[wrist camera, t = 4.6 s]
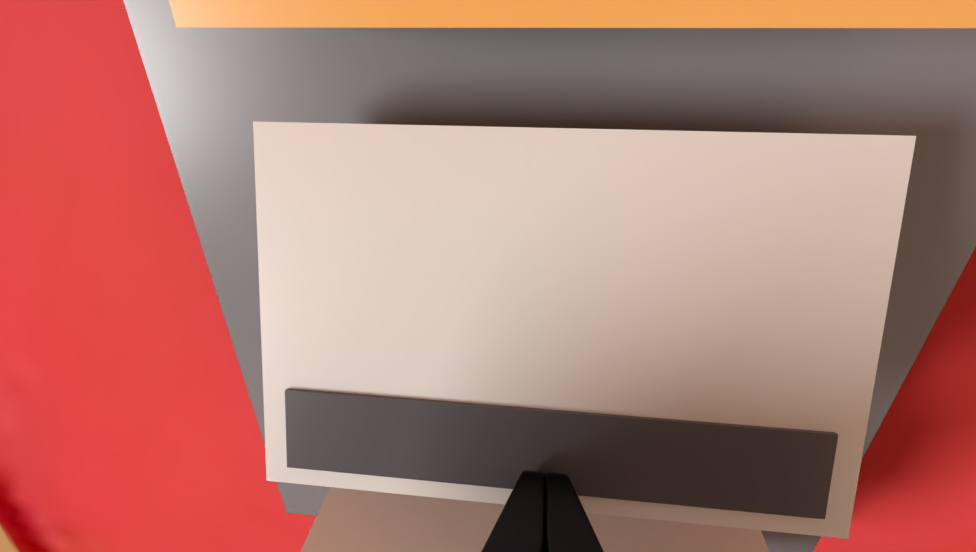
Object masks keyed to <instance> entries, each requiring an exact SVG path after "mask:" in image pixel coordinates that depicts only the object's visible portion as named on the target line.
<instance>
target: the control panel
mask: <svg viewBox="0 0 976 552" xmlns="http://www.w3.org/2000/svg"><path fill="white" fill-rule="evenodd" d="M123 1H124V4H125V7H126V10H127V13H128V16H129V19H130V23H131V26H132V29H133V32H134V35H135V38H136V41H137V45H138V48H139V51H140V54H141V57H142V60H143V63H144V67H145V70H146V73H147V76H148V79H149V82H150V85H151V89H152V92H153V95H154V98H155V101H156V104H157V107H158V111H159V114H160V117H161V120H162V123H163V126H164V129H165V133H166V136H167V139H168V142H169V145H170V148H171V151H172V155H173V158H174V161H175V164H176V167H177V170H178V173H179V177H180V180H181V183H182V186H183V189H184V192H185V195H186V199H187V202H188V205H189V208H190V211H191V214H192V217H193V221H194V224H195V227H196V230H197V233H198V236H199V239H200V243H201V246H202V249H203V252H204V255H205V258H206V261H207V265H208V268H209V271H210V274H211V277H212V280H213V283H214V287H215V290H216V293H217V296H218V299H219V302H220V305H221V308H222V312H223V315H224V318H225V321H226V324H227V327H228V330H229V334H230V337H231V340H232V343H233V346H234V349H235V352H236V356H237V359H238V362H239V365H240V368H241V371H242V374H243V378H244V381H245V384H246V387H247V390H248V393H249V396H250V400H251V403H252V406H253V409H254V412H255V415H256V418H257V422H258V425H259V428H260V431H261V434H262V437H263V440H264V444H265V426H264V399H263V373H262V346H261V320H260V294H259V267H258V241H257V215H256V188H255V162H254V135H253V121H254V122H301V123H347V124H393V125H439V126H485V127H532V128H578V129H624V130H670V131H716V132H763V133H809V134H855V135H901V136H916V141H915V147H914V153H913V158H912V164H911V170H910V176H909V182H908V188H907V194H906V200H905V206H904V212H903V218H902V224H901V229H900V235H899V241H898V247H897V253H896V259H895V265H894V271H893V277H892V283H891V289H890V294H889V300H888V306H887V312H886V318H885V324H884V330H883V336H882V342H881V348H880V354H879V360H878V365H877V371H876V377H875V383H874V389H873V395H872V401H871V407H870V413H869V419H868V425H867V431H866V436H865V442H864V448H863V454H862V458H863V457H864V455H865V453H866V451H867V449H868V447H869V445H870V443H871V442H872V440H873V438H874V436H875V434H876V432H877V430H878V429H879V427H880V425H881V423H882V421H883V419H884V417H885V415H886V414H887V412H888V410H889V408H890V406H891V404H892V402H893V400H894V399H895V397H896V395H897V393H898V391H899V389H900V387H901V386H902V384H903V382H904V380H905V378H906V376H907V374H908V372H909V371H910V369H911V367H912V365H913V363H914V361H915V359H916V357H917V356H918V354H919V352H920V350H921V348H922V346H923V344H924V343H925V341H926V339H927V337H928V335H929V333H930V331H931V329H932V328H933V326H934V324H935V322H936V320H937V318H938V316H939V315H940V313H941V311H942V309H943V307H944V305H945V303H946V301H947V300H948V298H949V296H950V294H951V292H952V290H953V288H954V286H955V285H956V283H957V281H958V279H959V277H960V275H961V273H962V272H963V270H964V268H965V266H966V264H967V262H968V260H969V258H970V257H971V255H972V253H973V251H974V249H975V247H976V28H240V27H176V25H175V21H174V17H173V14H172V10H171V7H170V3H169V0H123ZM277 484H278V488H279V491H280V494H281V497H282V500H283V503H284V506H285V510H286V513H296V514H305V515H315V516H317V515H318V513H319V510H320V508H321V506H322V504H323V502H324V500H325V497H326V495H327V493H328V491H329V489H330V487H325V486H315V485H305V484H295V483H285V482H277ZM761 532H762V534H763V537H764V539H765V542H766V544H767V547H768V549H769V552H813V550H814V548H815V546H816V544H817V542H818V541H819V539H820V537H821V536H813V535H803V534H793V533H783V532H773V531H763V530H761Z"/></svg>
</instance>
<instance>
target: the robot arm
mask: <svg viewBox="0 0 976 552" xmlns="http://www.w3.org/2000/svg"><path fill="white" fill-rule="evenodd" d="M481 552H604V551H603V549H602V547H601V545H600V542H599V540H598V538H597V536H596V534H595V532H594V529H593V527H592V525H591V523H590V521H589V519H588V517H587V514H586V512H585V510H584V508H583V506H582V504H581V501H580V499H579V497H578V495H577V493H576V491H575V489H574V486H573V484H572V482H571V480H570V478H569V477H568V476H567V475H566V474H561V473H550V472H549V473H547V474H546V475H544V473H543V472H539V471H529V470H525V471H523V472H522V473H521V474H520V476H519V478H518V480H517V482H516V484H515V486H514V488H513V490H512V492H511V494H510V496H509V498H508V500H507V502H506V504H505V506H504V508H503V510H502V512H501V514H500V516H499V518H498V520H497V522H496V524H495V526H494V527H493V529H492V531H491V533H490V535H489V537H488V539H487V541H486V543H485V545H484V547H483V549H482V551H481Z"/></svg>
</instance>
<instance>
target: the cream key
mask: <svg viewBox="0 0 976 552" xmlns="http://www.w3.org/2000/svg"><path fill="white" fill-rule="evenodd" d="M504 506H505V505H504V504H494V503H484V502H474V501H464V500H454V499H444V498H434V497H424V496H414V495H405V494H395V493H385V492H375V491H365V490H355V489H345V488H335V487H330V489H329V491H328V493H327V495H326V497H325V500H324V502H323V504H322V506H321V508H320V510H319V513H318V515H317V517H316V519H315V521H314V523H313V526H312V528H311V530H310V532H309V534H308V536H307V539H306V541H305V543H304V545H303V547H302V549H301V551H300V552H481V551H482V549H483V547H484V545H485V543H486V541H487V539H488V537H489V535H490V533H491V531H492V529H493V527H494V526H495V524H496V522H497V520H498V518H499V516H500V514H501V512H502V510H503V508H504ZM586 514H587V517H588V519H589V521H590V523H591V525H592V527H593V529H594V532H595V534H596V536H597V538H598V540H599V542H600V545H601V547H602V549H603V551H604V552H769V549H768V547H767V544H766V542H765V539H764V537H763V534H762V532H761V530H753V529H743V528H733V527H723V526H713V525H704V524H694V523H684V522H674V521H664V520H654V519H644V518H634V517H624V516H614V515H604V514H594V513H586Z"/></svg>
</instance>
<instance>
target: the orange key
mask: <svg viewBox="0 0 976 552" xmlns="http://www.w3.org/2000/svg"><path fill="white" fill-rule="evenodd" d="M169 3H170V7H171V10H172V14H173V17H174V21H175V25H176V27H240V28H976V0H169Z"/></svg>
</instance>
